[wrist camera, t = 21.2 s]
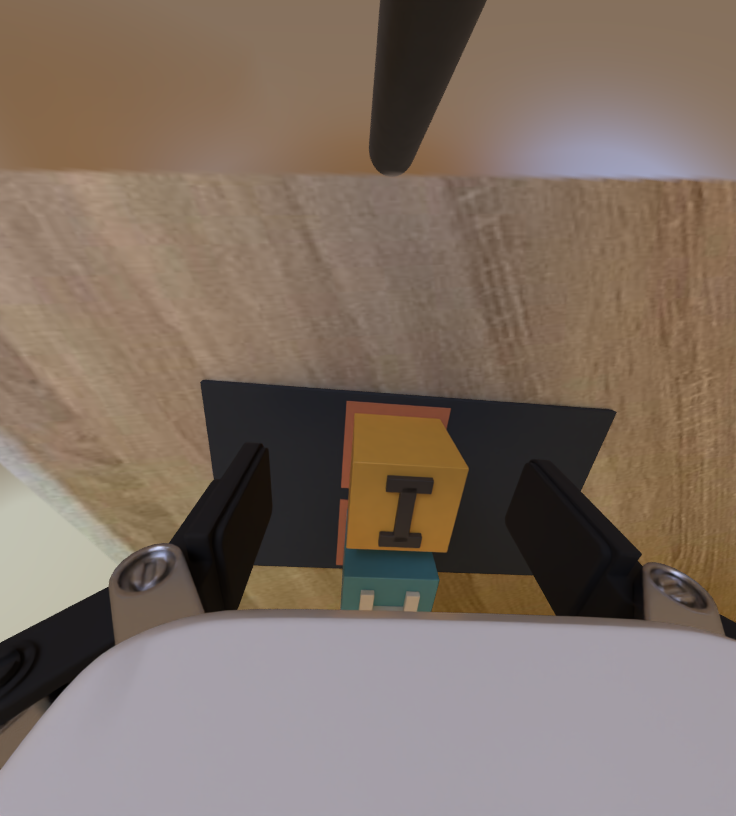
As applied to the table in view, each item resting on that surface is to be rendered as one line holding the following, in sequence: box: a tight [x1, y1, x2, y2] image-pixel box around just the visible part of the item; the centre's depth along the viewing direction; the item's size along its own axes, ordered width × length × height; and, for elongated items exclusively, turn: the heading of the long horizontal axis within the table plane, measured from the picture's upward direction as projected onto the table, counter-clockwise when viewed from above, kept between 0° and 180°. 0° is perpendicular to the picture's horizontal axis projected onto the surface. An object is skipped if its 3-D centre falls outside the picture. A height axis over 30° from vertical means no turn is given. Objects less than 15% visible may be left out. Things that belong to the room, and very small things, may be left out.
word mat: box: [200, 380, 616, 575], centre depth 20 cm, size 14×24×1 cm, turn 85°
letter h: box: [340, 509, 439, 612], centre depth 18 cm, size 5×5×5 cm
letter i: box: [346, 413, 469, 552], centre depth 16 cm, size 5×5×5 cm
